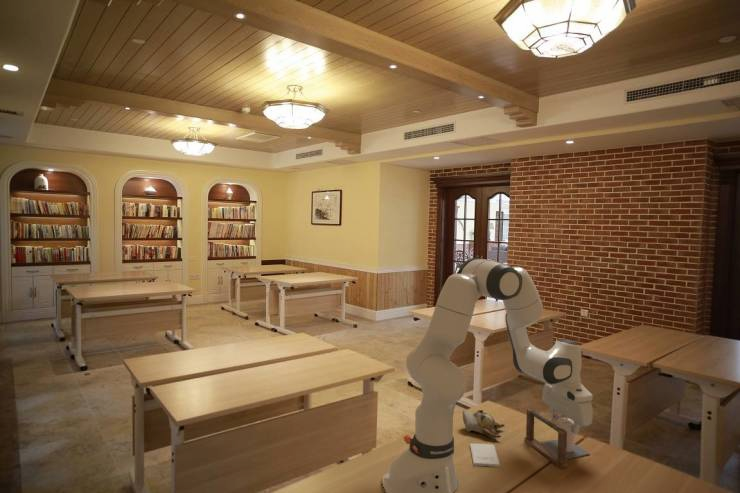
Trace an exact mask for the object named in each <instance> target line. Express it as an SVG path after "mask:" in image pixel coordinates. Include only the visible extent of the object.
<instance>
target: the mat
mask: <svg viewBox="0 0 740 493" xmlns="http://www.w3.org/2000/svg"><path fill="white" fill-rule="evenodd" d="M540 443H541V444H543V445H544V446H545V447H547V448H548V449H549V450H551V451H552V452H554V453H555V454H556V455H558V439H553V440H548V441H541V442H540ZM590 455H591V453H590V452H588V451H587V450H585V449H584V448H582V447H581V446H579V445H577V444H576V443H575V442H574V444H573V450H572V452H566V461H567V460H571V459H577V458H581V457H585V456H586V457H587V456H590Z"/></svg>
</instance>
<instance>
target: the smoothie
mask: <svg viewBox="0 0 740 493" xmlns="http://www.w3.org/2000/svg"><path fill="white" fill-rule="evenodd" d="M556 424H557V427H559V428H561V429H564V430H565V431H567V449H566V452H572V450H573V444H574V443H575V442H574V441H575V436H576V434H574V433H573V432H572V431H571V430H572V427H574V426H575V424H574V421H573V420H571V419H569V418H568V417H566V416H565V417H559V418H558V419H557V421H556Z"/></svg>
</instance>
